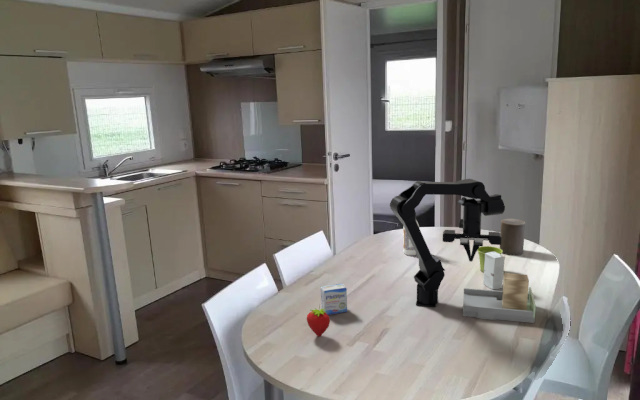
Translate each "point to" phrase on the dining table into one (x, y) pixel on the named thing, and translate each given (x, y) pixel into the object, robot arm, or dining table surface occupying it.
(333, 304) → the medicine box
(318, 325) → the strawberry
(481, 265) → the plant pot
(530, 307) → the lane
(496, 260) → the skincare box
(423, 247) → the robot arm
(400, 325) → the dining table surface
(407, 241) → the bath foam
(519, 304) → the block
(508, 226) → the pillar candle
